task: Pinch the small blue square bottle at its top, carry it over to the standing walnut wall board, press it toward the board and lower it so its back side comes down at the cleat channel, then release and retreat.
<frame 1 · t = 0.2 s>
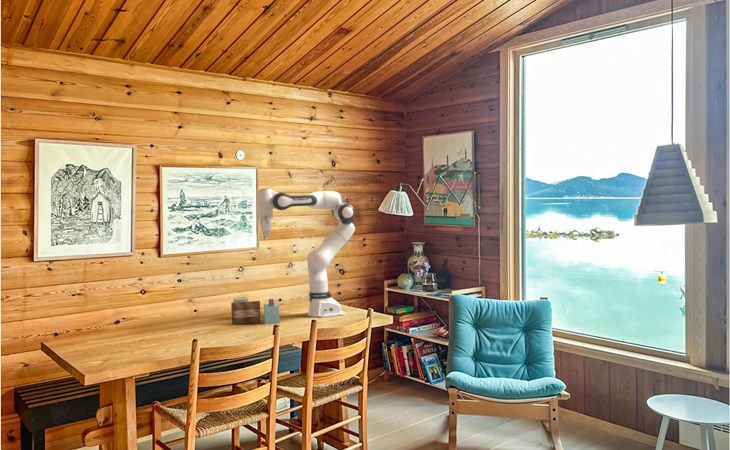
hand: (266, 239, 345), 47 cm above the table, fingers open, 8 cm apart
blue square bottle: (271, 322, 333), on the table
can: (241, 317, 353), on the table
wall board: (246, 322, 336), on the table
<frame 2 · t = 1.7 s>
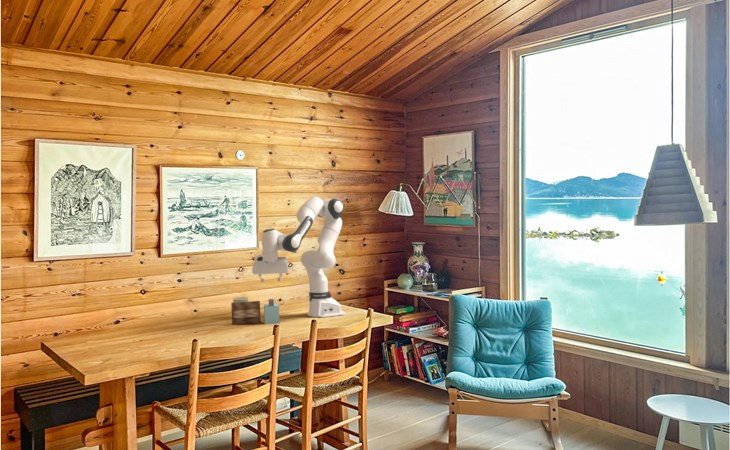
hand: (270, 281, 333), 24 cm above the table, fingers open, 8 cm apart
nothing on the table moved.
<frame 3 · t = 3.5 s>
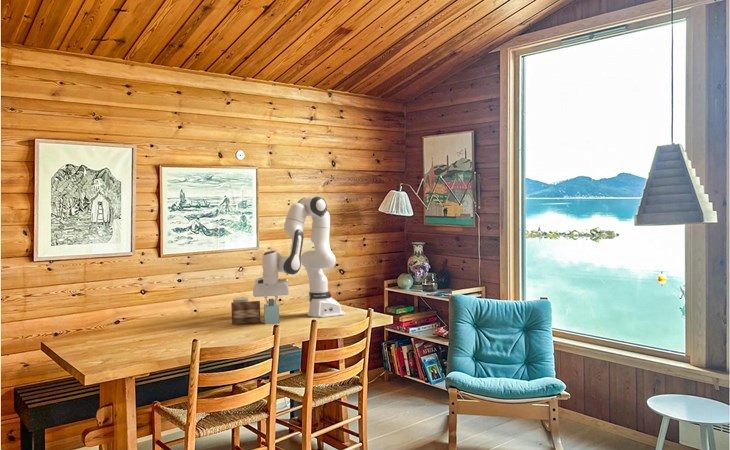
hand: (271, 303, 333), 11 cm above the table, fingers closed on blue square bottle, 2 cm apart
blue square bottle: (271, 322, 333), on the table, touching gripper
everything else where it was.
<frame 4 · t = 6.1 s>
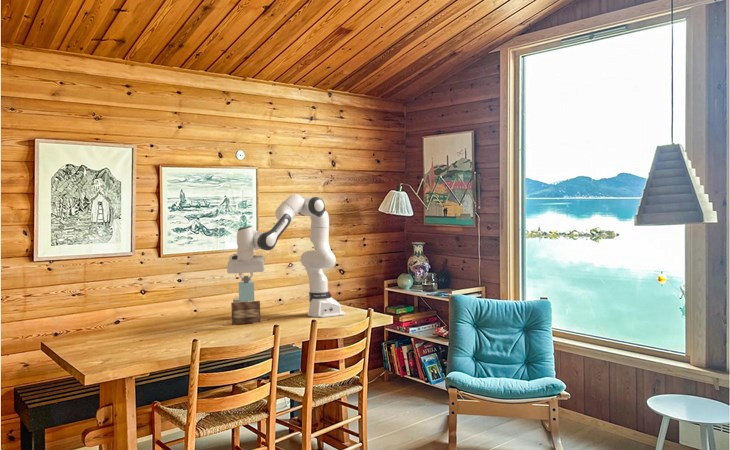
hand: (246, 280, 324), 25 cm above the table, fingers closed on blue square bottle, 2 cm apart
blue square bottle: (246, 300, 324), point 14 cm above the table, touching gripper
everything else where it was.
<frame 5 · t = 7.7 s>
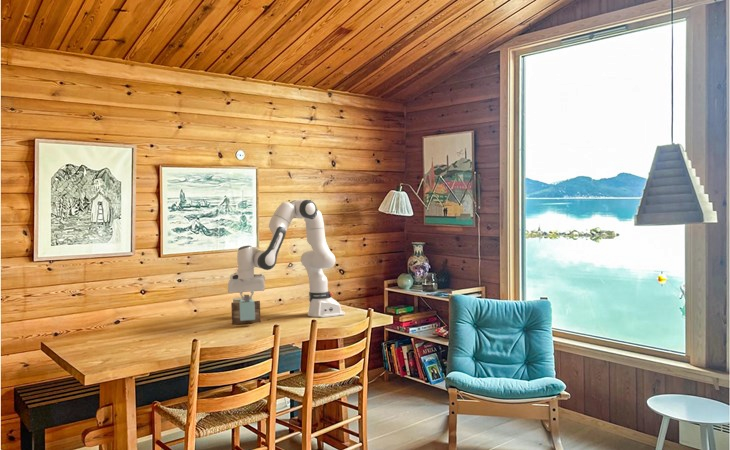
hand: (246, 299, 326), 15 cm above the table, fingers closed on blue square bottle, 2 cm apart
blue square bottle: (247, 319, 326), point 4 cm above the table, touching gripper
everything else where it was.
when the fingers open (12 cm above the table, at t = 8.9 s): blue square bottle stays where it is, on the table.
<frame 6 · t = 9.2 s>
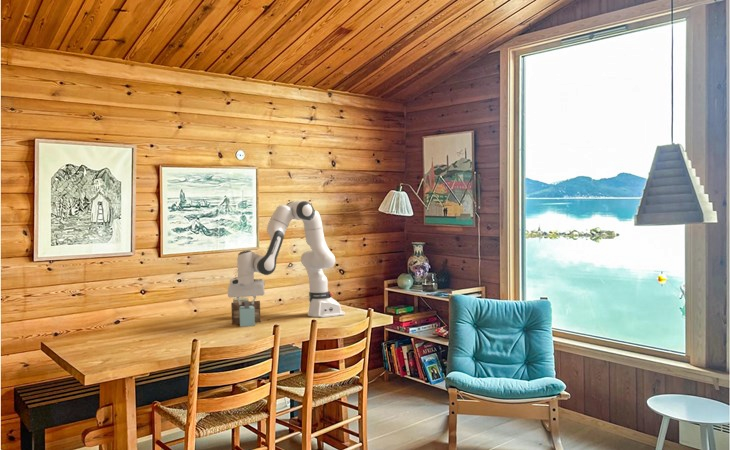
hand: (246, 304, 327), 12 cm above the table, fingers open, 5 cm apart
blue square bottle: (247, 325, 327), on the table
everything else where it was.
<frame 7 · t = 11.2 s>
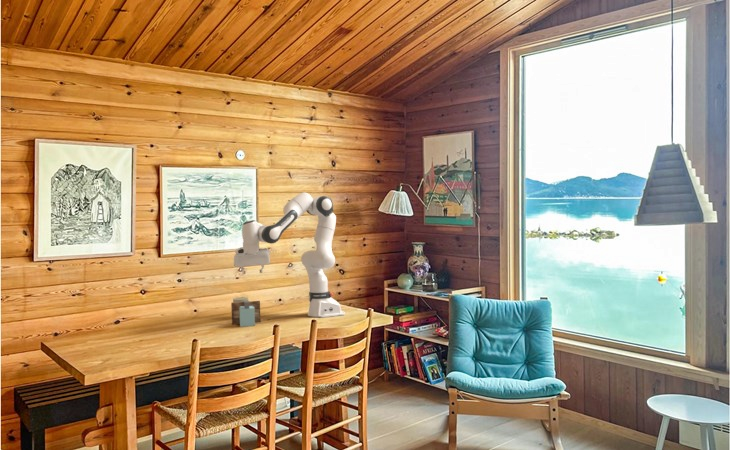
hand: (252, 273, 332), 29 cm above the table, fingers open, 8 cm apart
nothing on the table moved.
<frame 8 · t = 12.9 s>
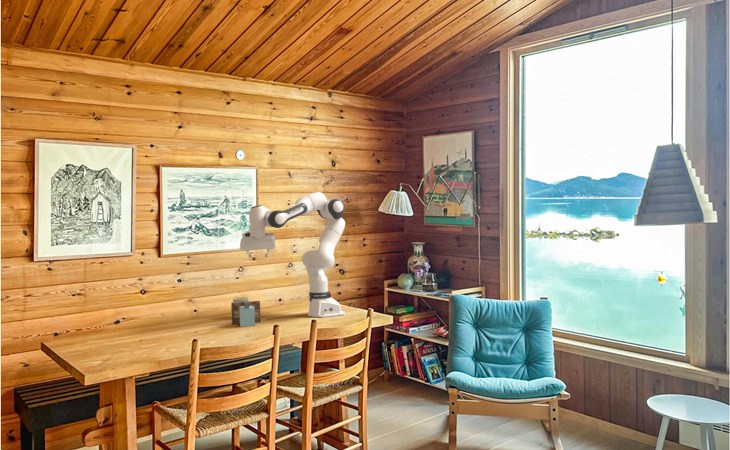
hand: (258, 257, 338), 37 cm above the table, fingers open, 8 cm apart
nothing on the table moved.
at the end: blue square bottle inside the target area on the table beside the wall board (0.1 cm from its centre), on the table; blue square bottle tilted 0°; the gripper is holding nothing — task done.
